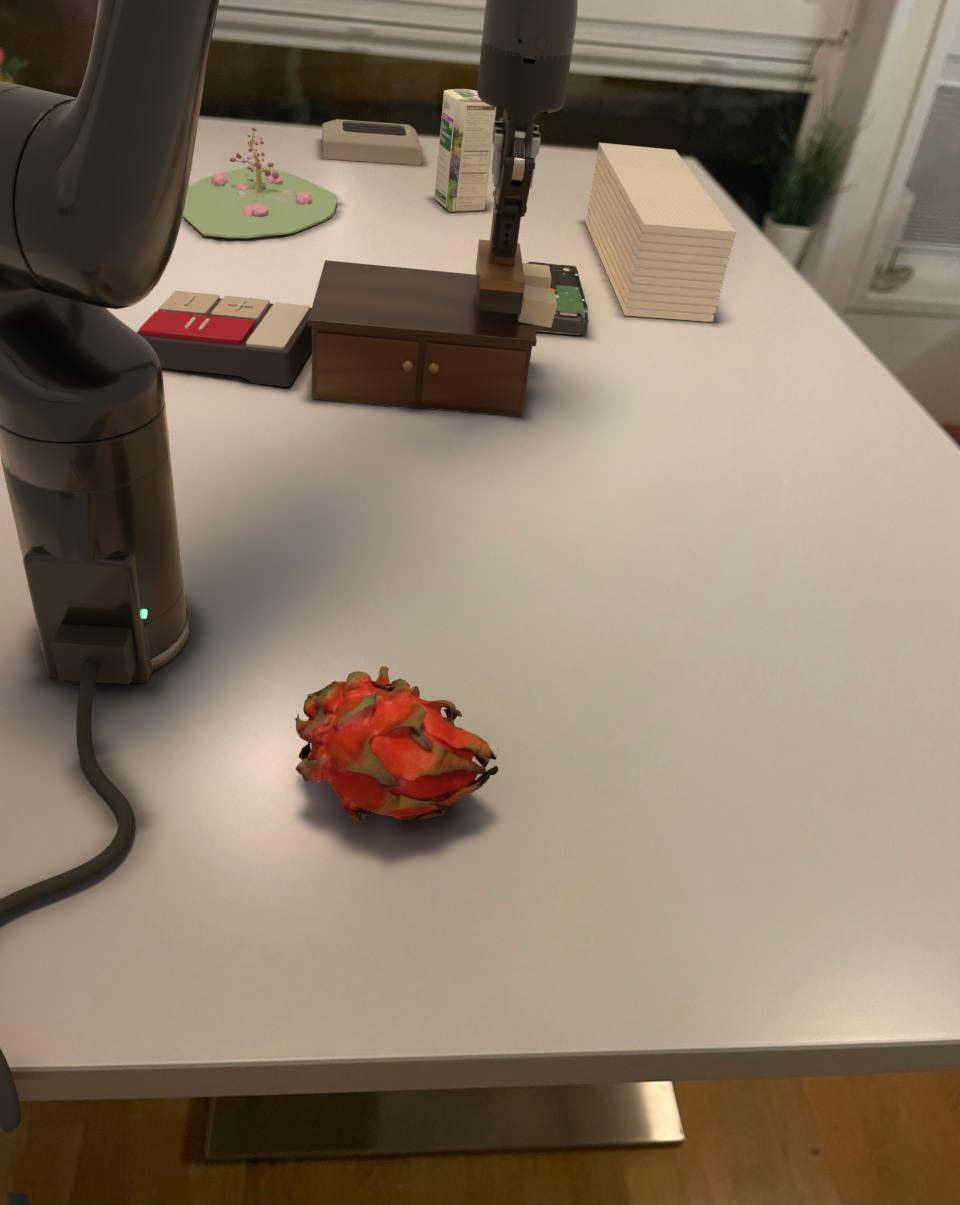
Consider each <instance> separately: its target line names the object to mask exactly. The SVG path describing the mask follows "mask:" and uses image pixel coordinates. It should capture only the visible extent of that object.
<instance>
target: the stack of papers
mask: <svg viewBox="0 0 960 1205" xmlns="http://www.w3.org/2000/svg"><path fill="white" fill-rule="evenodd" d="M592 175H593V176H592V182H591V188H590V194H589V199H588V201H589V202H588V205H587V208H588V209H587V211H586V217H585V225H586V227H587V230H588V232H589V234H590V236H591V239H592V241H593V244H594V246H595V248H596V251H597V253H598V256H599V258H600V261H601V262H602V265H603V267H604V269H605V273H606V275H607V276H608V279H609V281H610V284H611V286H612V289H613V291H614V293H615V295H616V298H617V300H618V302H619V305H620V306H621V307H620V308H621V309H622V312H623V314H624V316H628V317H639V318H653V319H654V318H655V319H665V320H666V319H667V320H681V321H693V322H694V321H695V322H705V323H706V322H707V323H713V322H714V319H715V314H716V311H717V308H718V307H717V306H718V303H719V298H720V297H721V296H720V295H721V290H722V288H723V282H724V280H725V277H726V273H727V269H728V265H729V261H730V257H731V254H732V248H733V246H734V243H735V241H734V240H735V238H736V235H737V231H736V229H735V228H734V227H733V225H732V224H731V223H730V221H729V220H728V219H727V217H726V216H725V215H724V213H723V212H722V210H721V209H720V208H719V206H718V205H717V204H716V202H715V201H714V200H713V199H712V197H711V196H710V194H709V193H708V192H707V190H706V189H705V188H704V186H703V185H702V184H701V182H700V181H699V179H698V178H697V177H696V176H695V174H694V173H693V171H692V170H691V169H690V168H689V166H688V165H687V164H686V162H685V161H684V160H683V158H682V156H680V154H679V153H678V151H677V150H676V149H672V148H671V149H670V148H669V149H668V148H658V147H649V146H639V145H638V146H637V145H627V144H618V143H617V144H616V143H607V142H598V145H597V151H596V159H595V166H594V169H593V174H592Z"/></svg>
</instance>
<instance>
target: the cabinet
mask: <svg viewBox="0 0 960 1205" xmlns="http://www.w3.org/2000/svg"><path fill="white" fill-rule="evenodd" d="M320 273H321V274H320V276H319V280H318V283H317V288H316V291H315V294H314V297H313V301H312V304H311V307H310V308H311V312H310V316H309V319H308V326H312V350H311V399H312V400H323V401H333V402H345V403H356V404H367V405H381V406H392V407H401V408H402V407H403V408H416V409H424V410H425V409H426V410H439V411H451V412H462V413H473V414H485V415H495V416H507V417H508V416H509V417H523V413H524V407H525V400H526V392H527V387H528V386H527V384H528V378H529V372H530V364H531V359H532V358H531V357H532V352H533V347H537V341H538V340H537V333H536V332H537V331H535V325H533V324H527V323H522V322H518V317H517V314H514V313H504V312H493V311H483V310H478V305H477V285H476V274H474V273H465V272H464V273H463V272H452V271H441V270H432V269H422V268H413V267H412V268H410V267H401V266H390V265H381V264H380V265H379V264H370V263H361V262H360V263H358V262H348V261H338V260H337V261H336V260H327V259H325V260H324V263H323V267H322V270H321V272H320Z"/></svg>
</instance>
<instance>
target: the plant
mask: <svg viewBox="0 0 960 1205" xmlns="http://www.w3.org/2000/svg"><path fill="white" fill-rule="evenodd" d="M250 129H251V131H252V133H255V132H257V129H256V127H250ZM247 137H248V138H249V140H248V141H247V146H248V147H249V148H248V150H247V151H248V152H249V153H252V154H253V155H249V156H248V157H246V159H244V157H243V156H242V155H241V154H240V153H239V152H237V153H236V154H235V157H236V158H235V157H230V158H229V162H230V163H235V162H237V163H242V164H246V163H247V164H248V166H244V167H240V168H237V169H233V170H229V171H226V172H216V173H214V174H213V175H211V176H207V177H204V178H202V179H200V180H198V181H196V182H195V183H193V184H191V185H188V191H187V197H186V203H185V207H184V212H183V217H182V218H184V219H185V220H186V221H187V222H188V223H189V224H190V225H192V227H194V228H195V230H197V231H198V232H199V233H201V234H202V235H203V236H204V237H212V238H213V237H214V238H224V239H225V238H227V239H253V238H261V237H262V238H263V237H264V238H265V237H271V236H273V237H274V236H283V235H287V234H288V235H289V234H294V233H299V232H301V231H303V230H306V229H309V228H310V227H313V226H316V225H319V224H321V223H323V222H326V221H328V220H330V219H331V218H333V216H334V215H335V214H334V213H335V212H336V209H337V204H338V196H337V195H336V193H333V192H331V191H329V190H327V189H325V188H323V187H321V186H319V185H317V184H315V183H313V182H311V181H309V180H307V179H304V178H301V177H299V176H296V175H294V174H292V173H289V172H286V171H283V170H279V169H276V168H273V167H274V165H275V163H274V162H267V164H266V166H263V165H262V163H260V162H261V161H262V162H265V159H264V158H263V157H265V152H264V151H263V152H261V153H259V152H258V149H257V148H254V146H259V145H264V144H265V142H264V141H263V138H262V137H259V141H257V140H254V138H256V136H255V135H254V134H252V135H250V134H247ZM259 143H260V144H259ZM241 159H242V160H241ZM253 159H254V160H255V161H254V162H251V161H250V160H253ZM260 159H261V160H260Z"/></svg>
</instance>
